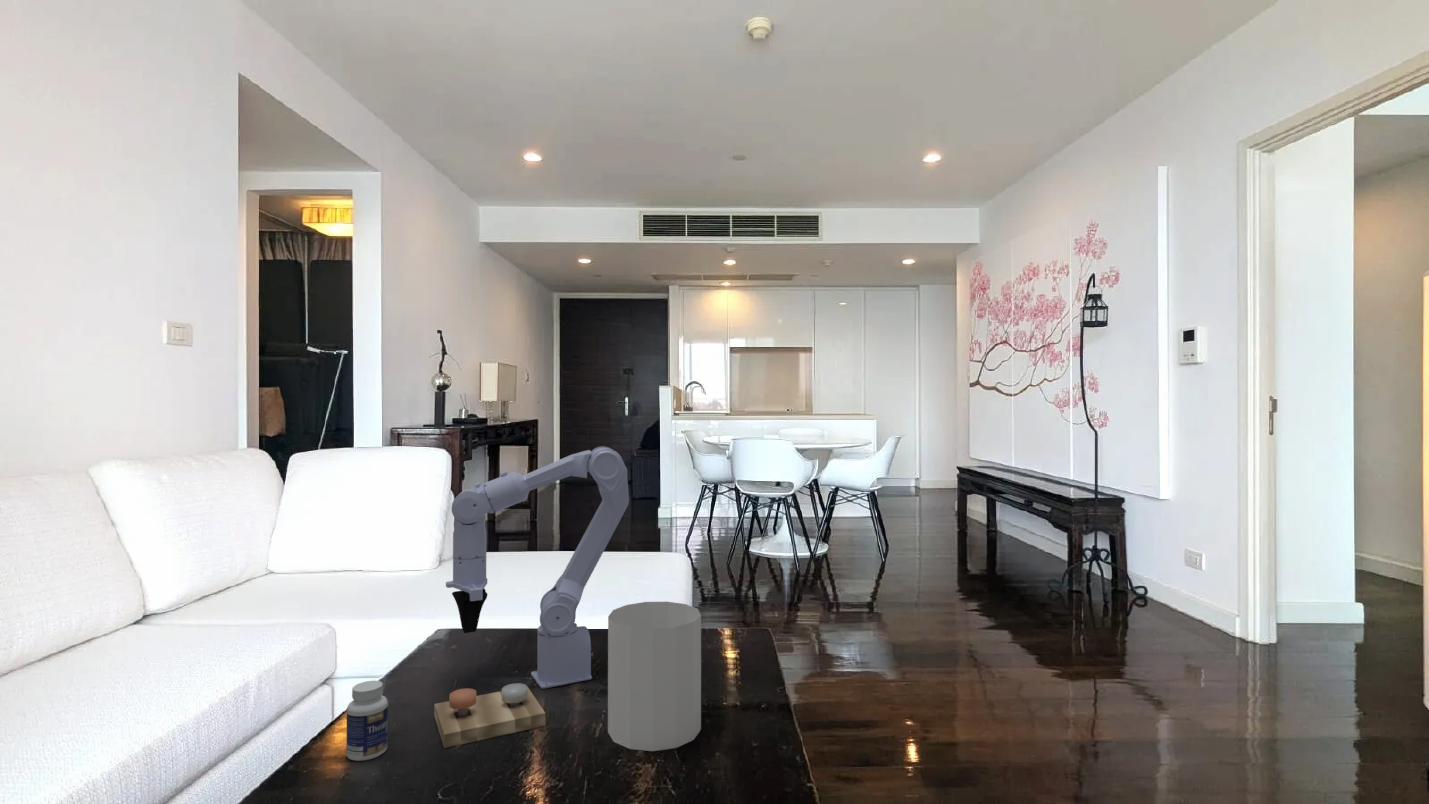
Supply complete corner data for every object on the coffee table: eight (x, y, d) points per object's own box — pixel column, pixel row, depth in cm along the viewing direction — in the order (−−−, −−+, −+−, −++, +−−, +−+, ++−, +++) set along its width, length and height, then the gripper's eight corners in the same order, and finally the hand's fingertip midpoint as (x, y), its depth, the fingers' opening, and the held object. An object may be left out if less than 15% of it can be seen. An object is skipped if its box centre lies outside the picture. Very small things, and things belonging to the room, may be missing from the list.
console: (527, 697, 119) (527, 686, 119) (545, 725, 108) (545, 713, 108) (434, 716, 112) (434, 704, 112) (444, 748, 101) (444, 734, 101)
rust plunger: (473, 710, 111) (474, 686, 111) (478, 720, 107) (478, 695, 107) (447, 716, 109) (447, 691, 109) (451, 726, 105) (451, 700, 105)
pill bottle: (370, 764, 97) (371, 694, 97) (337, 760, 98) (338, 691, 98) (395, 745, 102) (396, 680, 102) (364, 742, 103) (364, 677, 103)
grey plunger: (523, 705, 115) (523, 681, 115) (529, 714, 111) (529, 690, 111) (499, 710, 113) (499, 686, 113) (504, 719, 109) (504, 695, 109)
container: (599, 718, 111) (599, 607, 112) (681, 703, 117) (682, 597, 117) (623, 759, 98) (624, 633, 98) (715, 740, 104) (715, 621, 104)
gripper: (441, 551, 129) (440, 623, 128) (452, 566, 116) (451, 647, 116) (480, 547, 132) (479, 618, 132) (495, 562, 119) (494, 640, 119)
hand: (469, 631), depth 124 cm, fingers closed
